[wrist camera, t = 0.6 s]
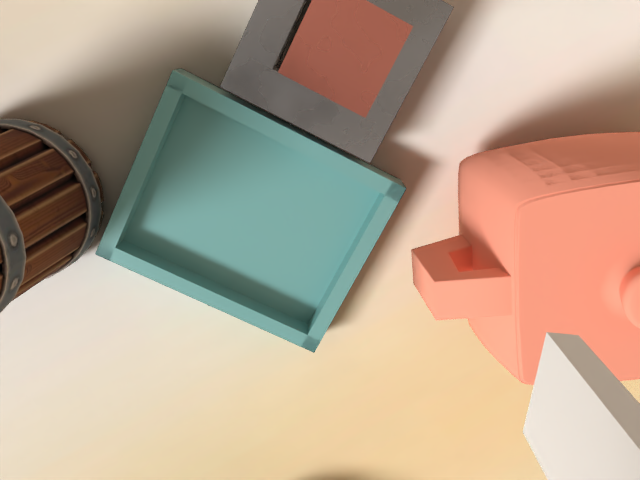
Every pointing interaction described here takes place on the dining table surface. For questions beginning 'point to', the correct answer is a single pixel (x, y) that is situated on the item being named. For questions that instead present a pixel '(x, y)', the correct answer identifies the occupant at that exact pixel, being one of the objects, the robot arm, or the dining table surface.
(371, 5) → the rod with pink block
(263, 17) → the eye block
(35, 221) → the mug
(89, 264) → the dining table surface
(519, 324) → the teapot
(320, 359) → the dining table surface
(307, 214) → the tray
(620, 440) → the robot arm
